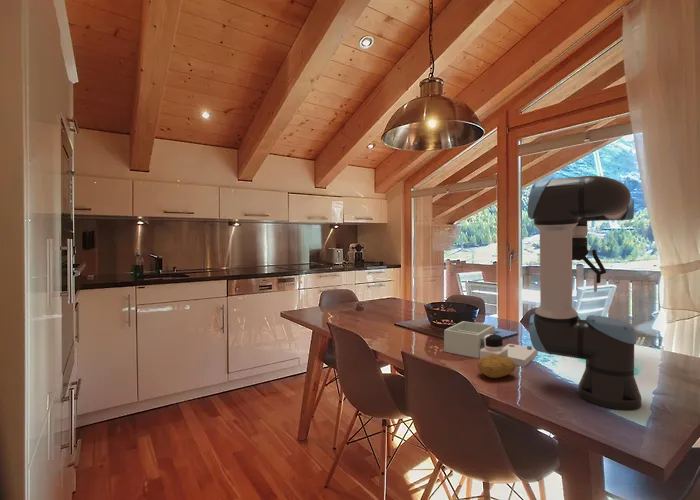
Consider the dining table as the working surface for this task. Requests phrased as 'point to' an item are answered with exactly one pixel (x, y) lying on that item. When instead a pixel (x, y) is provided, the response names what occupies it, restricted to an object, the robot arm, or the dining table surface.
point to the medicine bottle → (493, 346)
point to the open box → (466, 338)
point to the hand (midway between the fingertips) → (575, 290)
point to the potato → (496, 366)
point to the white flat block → (521, 354)
